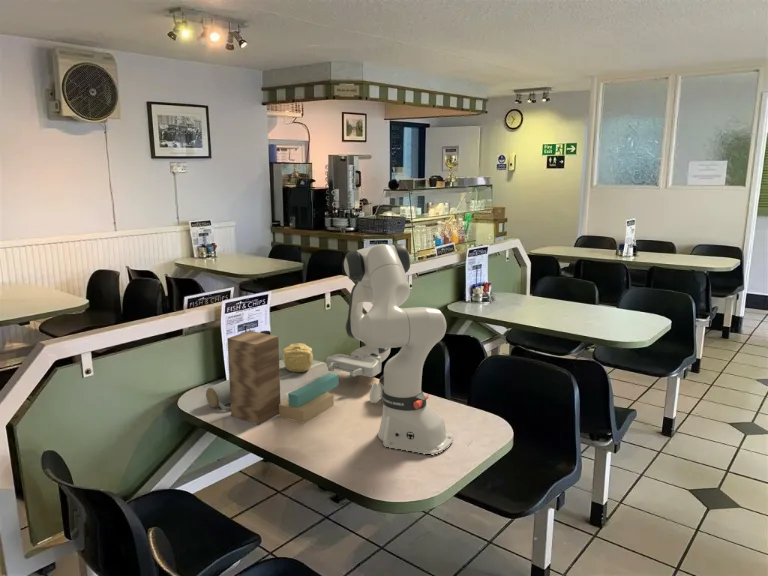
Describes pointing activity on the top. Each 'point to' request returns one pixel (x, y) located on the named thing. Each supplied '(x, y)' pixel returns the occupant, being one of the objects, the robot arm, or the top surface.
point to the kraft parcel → (306, 408)
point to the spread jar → (377, 390)
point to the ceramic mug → (219, 395)
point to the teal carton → (313, 389)
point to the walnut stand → (254, 376)
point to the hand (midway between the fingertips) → (340, 371)
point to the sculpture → (297, 357)
